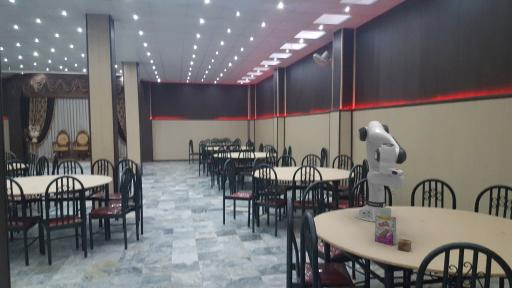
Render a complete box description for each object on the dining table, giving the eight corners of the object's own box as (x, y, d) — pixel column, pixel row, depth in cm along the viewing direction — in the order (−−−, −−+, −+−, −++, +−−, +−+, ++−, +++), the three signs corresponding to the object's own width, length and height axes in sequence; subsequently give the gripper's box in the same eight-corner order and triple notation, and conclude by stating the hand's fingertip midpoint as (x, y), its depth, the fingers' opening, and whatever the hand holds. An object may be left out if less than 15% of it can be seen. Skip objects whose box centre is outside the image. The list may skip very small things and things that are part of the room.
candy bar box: (374, 241, 211) (375, 215, 211) (378, 239, 215) (378, 213, 214) (393, 245, 204) (393, 218, 203) (396, 243, 208) (396, 216, 207)
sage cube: (380, 215, 209) (380, 208, 208) (383, 214, 212) (383, 207, 212) (387, 217, 206) (387, 209, 205) (390, 215, 209) (390, 208, 209)
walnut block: (397, 250, 197) (397, 241, 197) (400, 246, 202) (400, 238, 202) (409, 252, 193) (409, 243, 193) (411, 248, 198) (411, 240, 198)
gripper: (368, 168, 212) (367, 190, 213) (401, 172, 198) (400, 196, 199) (373, 167, 216) (372, 189, 217) (406, 171, 202) (405, 195, 203)
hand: (386, 193), depth 208 cm, fingers open, 8 cm apart
